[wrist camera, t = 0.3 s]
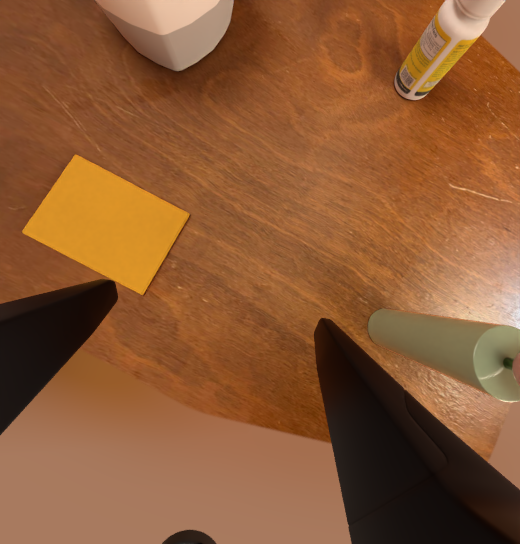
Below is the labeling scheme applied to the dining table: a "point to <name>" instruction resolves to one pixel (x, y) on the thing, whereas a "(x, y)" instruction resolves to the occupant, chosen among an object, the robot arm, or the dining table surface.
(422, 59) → the supplement bottle
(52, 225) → the cloth
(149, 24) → the bowl
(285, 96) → the dining table surface
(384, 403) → the robot arm
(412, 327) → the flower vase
